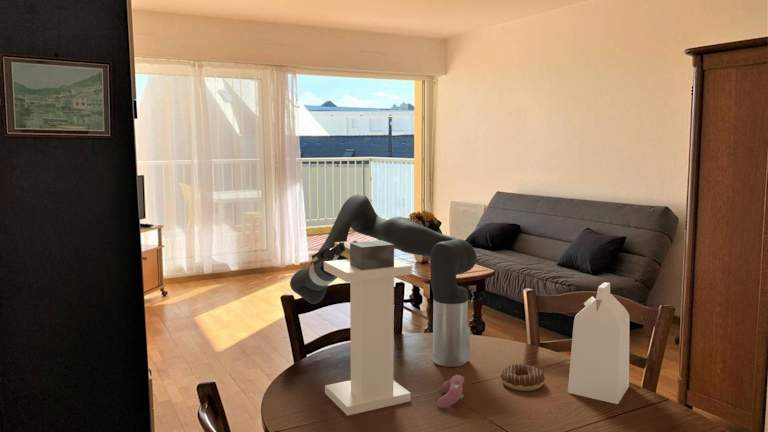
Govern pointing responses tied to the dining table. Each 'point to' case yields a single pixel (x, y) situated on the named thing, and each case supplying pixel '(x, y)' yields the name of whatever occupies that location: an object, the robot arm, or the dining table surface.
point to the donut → (522, 377)
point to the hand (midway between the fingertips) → (349, 245)
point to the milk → (600, 349)
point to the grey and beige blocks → (369, 254)
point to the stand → (369, 339)
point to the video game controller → (451, 391)
